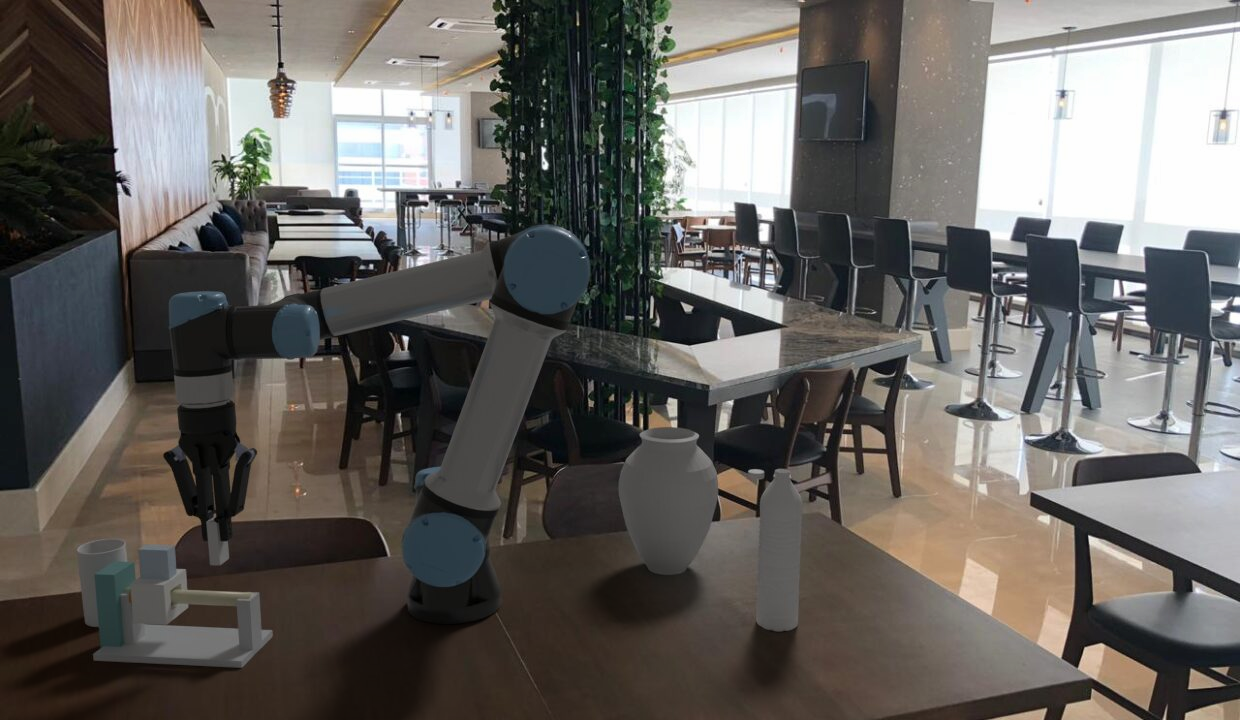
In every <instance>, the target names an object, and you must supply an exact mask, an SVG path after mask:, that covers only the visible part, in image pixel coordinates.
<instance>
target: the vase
mask: <svg viewBox="0 0 1240 720" xmlns="http://www.w3.org/2000/svg"><path fill="white" fill-rule="evenodd" d="M639 437H640V439H641V444H640V445H638V446H637V447H636V448H635V449H634V450H633V452H631V453H630V454H629V456H628V457H626V459H625V462H624V464H623V466H622V467H621V470H620V474H619V479H618V496H619V501H620V505H621V510H622V515H623V519H624V524H625V527H626V530H627V532H628V533H629V534H628V535H629V536H630V540H631V542H632V543H633V545H634V549H635V550H636V552H637V554H638V555H639V557H640V558H641V560H642V562H643V563H644V565H646V567H647V569H648V571H649V572H652V573H654V574H657V575H664V576H674V575H680V574H682V573H684V572H685V571H687V569H688V567H689V566H690V565H691V563H692V562H693V561H694V560H695V558H696V557H697V555H698V553H699V551H700V550H701V548H702V546H703V544H704V542H705V539H706V538H707V535H708V533H709V531H710V529H711V525H712V522H713V518H714V514H715V510H716V508H717V507H716V506H717V502H718V499H719V479H718V478H719V477H718V473H717V471H716V468H715V466H714V464H713V461H712V460H711V459H712V458H710V457H709V456H708V455H707V454H706V453H705V452H704V451H703V450H702V449H701V448H700V447H699V446H698V445H697V441H698V439H699V437H700V435H699V433H697V432H695V431H693V430H691V429H688V428H684V427H683V428H682V427H675V426H665V427H664V426H661V427H660V426H659V427H653V428H647V429H646V430H644V431H641V432H640V433H639Z"/></svg>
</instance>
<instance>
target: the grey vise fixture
mask: <svg viewBox="0 0 1240 720" xmlns="http://www.w3.org/2000/svg"><path fill="white" fill-rule="evenodd" d="M135 565H136V564H135V561H127V562H118V561H115V562H113V563H112V564H110V565H108V566H107V567H105V568H103V569H102V570H100V571H99V572H97V573H95V574H94V577H95V588H96V600H97V612H98V623H99V627H98V634H99V642H100V643H99V645H100V648H99V649H98V650H97V651H95V652H94V653H93V654H92V657H93V661H94V662H95V661H96V662H113V663H114V662H115V663H116V662H118V663H133V664H134V663H135V664H136V663H138V664H139V663H140V664H153V665H154V664H158V665H177V666H178V665H180V666H198V667H200V666H201V667H217V668H221V667H222V668H236V669H237V668H238V669H240V668H241V669H242V668H243V667H244V666H245V665H246V664H247V663H248V662H249V661H250V660H251V659H252V658H253V657H254V656H255V655H257V653H258V652H259V651H260V650H261V649H263V647H264V646H265V645H266V644H267V643H268V642H269V641H270V640H271V639H272V638H273V636H274V633H273V632H274V631H273V630H272V629H262V616H261V598H260V595H261V594H260V592H257V591H255V592H251V591H243V592H242V591H222V590H221V591H220V590H218V591H217V590H200V589H199V590H198V589H197V590H196V589H187V590H178V589H172V590H171V591H170V595H171V603H174V604H188V605H201V606H220V607H221V606H223V607H225V606H226V607H236V614H237V616H236V617H237V628H233V627H232V628H230V627H228V628H227V627H213V626H212V627H207V626H192V625H191V626H187V625H170V624H167V625H161V624H139V623H133V612H132V599H131V587H130V584H131V583H132V582H134V581H135V580H137V579H136V566H135Z"/></svg>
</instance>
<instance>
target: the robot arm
mask: <svg viewBox="0 0 1240 720" xmlns="http://www.w3.org/2000/svg"><path fill="white" fill-rule="evenodd" d="M584 245H585V244H584V243H582V241H581V239H579V237H577V236H576V235H575V234H574V233H573V232H571V231H570V230H567V229H566V228H564V227H561V226H558V225H555V224H551V223H550V224H549V223H541V224H540V223H539V224H536V225H531V226H530V227H528V228H525V229H524V230H522V231H519V232H516V233H514V234H512V235H510V236H506V237H504V238H500V239H497V240H492V241H487V243H486V244H485V245H484V247H483V248H482V250H479V251H474V252H471V253H466V254H463V255H458V256H453V257H449V258H446V259H445V258H444V259H442V260H437V261H433V262H428V263H425V264H421V265H416V266H412V267H408V268H403V269H398V270H396V271H395V270H394V271H391V272H387V273H383V274H382V273H381V274H379V275H375V276H374V275H373V276H369V277H366V278H361V279H357V280H354V281H353V280H352V281H349V282H344V283H340V284H337V285H332V286H328V287H323V288H321V289H317V290H312V291H308V292H302V293H300V292H298V293H292V294H290V295H286V296H284V297H282V298H281V299H279V300H276V301H274V302H272V303H270V304H263V305H261V304H260V305H244V306H243V305H242V306H239V305H229V302H228V301H227V296H226V294H225V293H224V292H222V291H209V290H205V291H201V290H200V291H190V292H189V291H187V292H180V293H177V294H174V295H173V296H171V298H170V299H169V301H168V323H169V324H168V325H169V326H168V330H169V337H170V338H169V339H170V347H171V355H172V357H171V358H172V363H173V377H174V378H173V379H174V391H175V402H176V403H178V404H180V405H178V406H177V408H176V412H177V421H178V422H177V423H178V429H179V431H180V436H179V437H178V441H177V443H178V444H177V445H175V447H174V448H171V449H169V450H167V451H165V452H163V455H162V456H163V459H164V460H165V461H166V463H167V464H168V465H169V467H170V468H171V471H172V475H173V477H174V480H175V483H176V487H177V489H178V492H179V496H180V499H181V501H182V505H183V507H184V510H185V513H186V515H187V516H188V517H195V518H197V519H199V520H200V526H201V537H202V540H203V541H204V542H207V544H208V557H209V565H210V566H222V565H223V564H224V563H225V562H226V561H228V560H229V559H230V552H229V540H231V539H232V537H233V526H232V525H233V524H232V518H234V517H235V516H237V515H239V514H241V512H243V511H244V510H245V504H246V497H247V491H248V486H249V479H250V474H251V467H252V463H253V462H254V459H256V457H257V455H258V450H257V448H253V447H251V448H249V447H247V446H245V445H243V444H242V443H241V438H240V437H239V435H238V433H237V413H236V404H235V402H234V401H233V400H232V399H233V397H234V396H235V392H234V382H233V381H234V380H233V365H232V361H233V360H236V361H237V360H238V361H240V360H273V359H274V360H277V359H279V360H281V359H285V360H290V361H291V360H294V359H299V358H300V359H302V358H311V357H313V356H314V355H315V354H317V352H318V348H319V346H320V342H321V340H326V339H327V340H328V339H330V338H333V337H337V336H341V335H345V334H349V333H354V332H358V331H362V330H366V329H371V328H375V327H380V326H383V325H387V324H388V325H389V324H392V323H396V322H399V321H400V322H401V321H404V320H405V321H406V320H409V319H412V318H417V317H421V316H425V315H426V316H427V315H429V314H434V313H438V312H442V311H443V312H444V311H447V310H450V309H456V308H459V307H463V306H468V305H473V304H477V303H480V302H484V301H485V302H486V301H489V300H490V301H489V305H490V307H491V310H492V313H493V314H494V321H493V323H492V327H491V329H490V332H489V335H488V338H487V340H486V342H485V346H484V348H483V352H482V354H481V357H480V360H479V361H478V364H477V367H476V370H475V373H474V376H473V378H472V382H471V384H470V386H469V388H468V392H467V395H466V397H465V400H464V403H463V405H462V407H461V412H460V414H459V416H458V419H457V422H456V424H455V427H454V430H453V432H452V436H451V439H450V441H449V443H448V447H447V449H446V451H445V455H444V457H443V460H442V462H441V465H440V466H436V467H435V466H434V467H427V468H424V469H420V470H419V471H418V472H417V473H416V475H415V478H414V480H415V482H414V484H413V488H414V490H415V505H414V508H413V509H412V513H411V516H410V519H409V521H408V525H407V527H405V530H404V531H403V532H404V533H403V534H402V538H401V554H402V558H403V561H404V564H405V566H406V567H407V570H409V572H410V573H411V575H412V578H411V582H410V586H409V587H408V592H407V610H408V613H409V614H410V615H411V616H412V617H414V618H415V619H417V620H419V621H423V622H426V623H430V624H431V623H432V624H441V625H453V624H454V625H455V624H464V623H472V622H475V621H479V620H482V619H485V618H487V617H489V616H491V615H493V614H495V612H496V611H498V610H499V609H500V607H501V605H502V588H501V584H500V583H499V582H500V581H499V580H498V576H497V573H496V570H495V568H494V566H493V563H492V559H491V554H490V553H491V550H490V549H491V546H490V545H491V541H490V539H491V538H490V537H491V536H490V534H491V532H492V529H493V526H494V523H495V520H496V517H497V515H498V513H499V510H500V507H501V505H502V502H501V499H500V497H499V495H498V492H497V491H496V489H497V486H498V483H499V481H500V478H501V475H502V473H503V470H504V467H505V464H506V462H507V459H508V457H509V455H510V451H511V448H512V446H513V444H514V441H515V439H516V438H515V437H516V436H517V433H518V430H519V427H520V426H521V422H522V420H523V418H524V414H525V412H526V409H527V406H528V404H529V401H530V398H531V395H532V393H533V390H534V388H535V385H536V382H537V380H538V376H539V374H540V371H541V369H542V367H543V364H544V360H545V359H546V356H547V353H548V350H549V348H550V345H551V343H552V340H553V339H554V338H556V337H559V336H561V335H563V334H565V333H567V331H568V328H569V325H570V323H571V320H572V317H573V314H574V313H575V312H574V311H575V310H576V307H577V304H578V302H579V300H580V299H581V298H582V296H583V295H584V294H585V292H586V290H587V288H588V285H589V283H590V278H591V263H590V257H589V255H588V251H587V249H586V247H585V246H584ZM234 455H235V458H234V459H235V461H236V464H235V467H234V473H233V478H232V485H231V481H230V480H231V479H230V469H231V460H232V458H233V457H234ZM187 458H188V460H189V461H190V462H191V463H192V464H191V466H192V467H190V464H189V461H188V460H187ZM191 468H192V470H191ZM193 475H194V476H195V479H194V477H193Z"/></svg>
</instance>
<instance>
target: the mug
mask: <svg viewBox="0 0 1240 720" xmlns="http://www.w3.org/2000/svg"><path fill="white" fill-rule="evenodd" d="M126 544H127V543H126V541H125V540H123V539H120V538H104V539H97V540H93V541H89V542H85V543H83V544H81V545H79V546H78V547H77V548H76V552H77V555H76V556H77V565H78V566H77V567H78V575H79V582H80V583H79V584H80V590H81V591H80V592H81V600H82V609H83V617H84V623H85V625H86V626H88V627H92V628H93V627H94V628H99V623H98V612H97V600H96V588H95V577H94V574H95V573H97V572H99V571H100V570H102V569H103V568H105V567H107V566H108V565H110V564H112V563H113V562H115V561H118V562H128V556H127V545H126Z"/></svg>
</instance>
